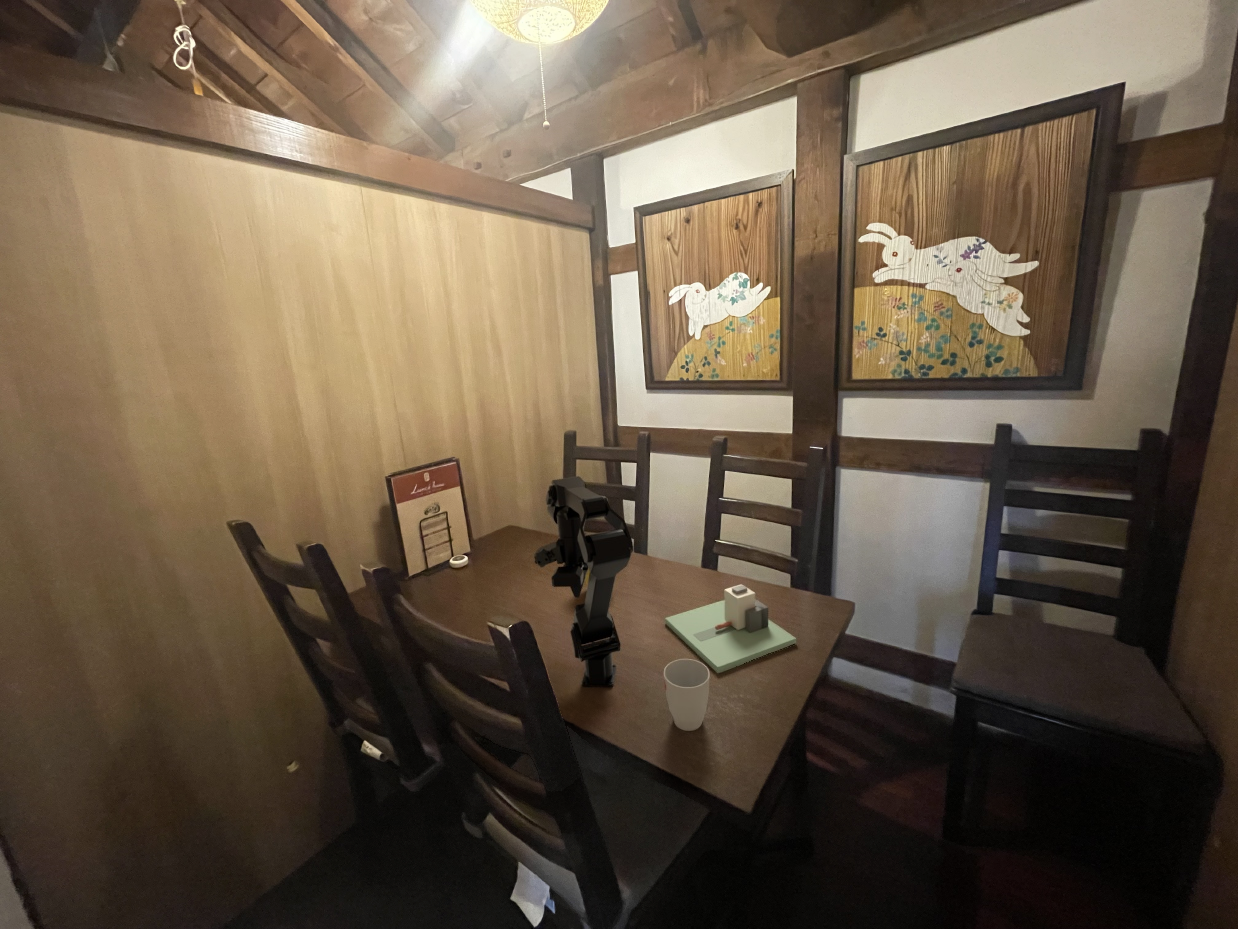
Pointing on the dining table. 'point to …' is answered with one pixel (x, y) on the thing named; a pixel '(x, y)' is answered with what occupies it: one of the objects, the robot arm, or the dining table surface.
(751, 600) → the plug
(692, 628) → the board
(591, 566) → the robot arm
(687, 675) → the cup
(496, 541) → the dining table surface
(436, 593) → the dining table surface
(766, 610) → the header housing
